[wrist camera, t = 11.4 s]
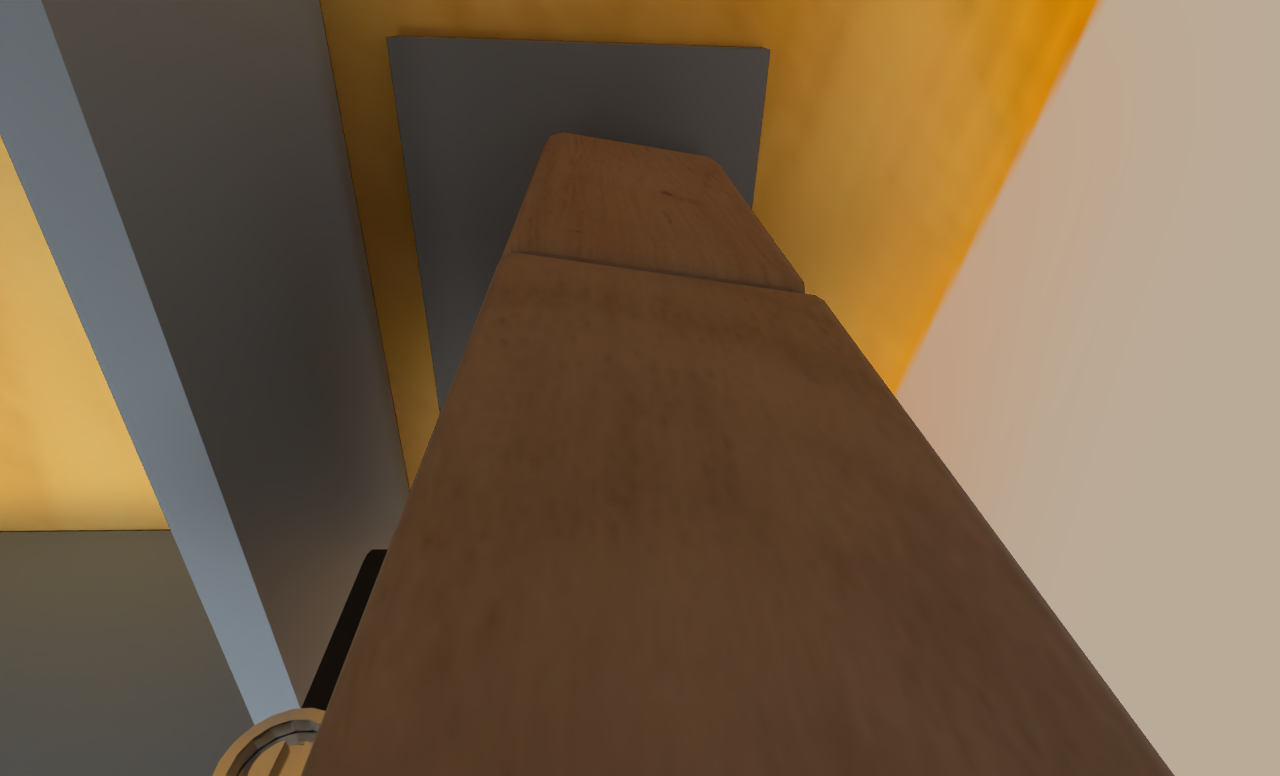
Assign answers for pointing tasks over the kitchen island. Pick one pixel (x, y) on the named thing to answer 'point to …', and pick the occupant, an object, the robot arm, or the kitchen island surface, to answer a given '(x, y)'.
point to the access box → (195, 377)
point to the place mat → (544, 140)
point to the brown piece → (694, 532)
